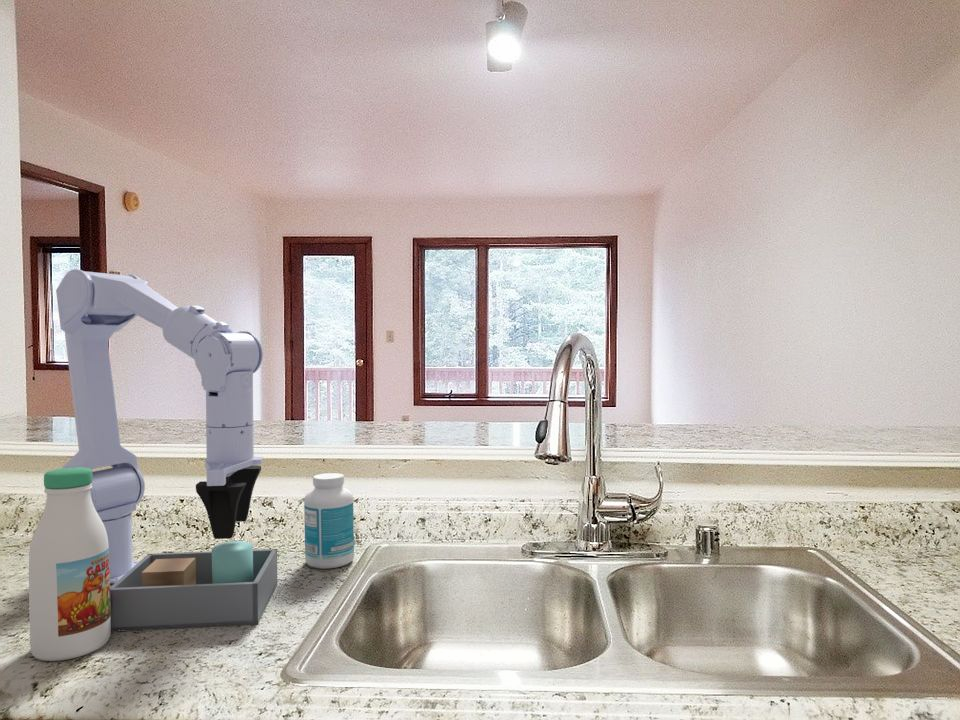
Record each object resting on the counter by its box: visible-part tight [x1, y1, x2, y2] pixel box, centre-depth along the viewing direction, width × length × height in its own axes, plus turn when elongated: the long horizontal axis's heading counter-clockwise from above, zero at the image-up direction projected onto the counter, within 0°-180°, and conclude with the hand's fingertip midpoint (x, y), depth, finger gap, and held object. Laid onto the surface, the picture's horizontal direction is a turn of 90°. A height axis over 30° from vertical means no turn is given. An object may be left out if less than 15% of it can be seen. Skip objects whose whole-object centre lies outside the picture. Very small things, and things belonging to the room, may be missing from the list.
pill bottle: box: [303, 472, 355, 570], centre depth 102 cm, size 8×7×14 cm
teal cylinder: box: [211, 540, 254, 584], centre depth 86 cm, size 5×5×7 cm
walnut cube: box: [142, 558, 196, 587], centre depth 85 cm, size 5×5×5 cm
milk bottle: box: [28, 467, 112, 662], centre depth 74 cm, size 8×8×20 cm
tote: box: [110, 548, 278, 632], centre depth 85 cm, size 17×13×5 cm
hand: (231, 529), depth 86 cm, fingers open, 7 cm apart
